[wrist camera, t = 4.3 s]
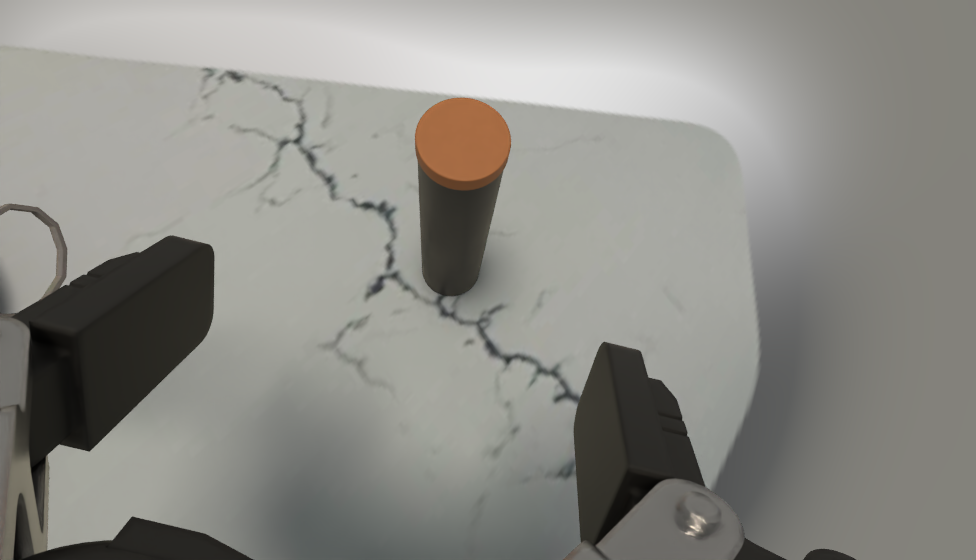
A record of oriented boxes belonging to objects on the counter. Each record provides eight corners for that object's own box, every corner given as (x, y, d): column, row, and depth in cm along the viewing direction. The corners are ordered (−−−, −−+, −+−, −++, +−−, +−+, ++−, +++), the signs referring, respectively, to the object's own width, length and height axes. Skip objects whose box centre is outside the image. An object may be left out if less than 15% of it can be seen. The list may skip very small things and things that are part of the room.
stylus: (489, 255, 27) (525, 119, 17) (466, 306, 26) (489, 196, 16) (436, 232, 27) (439, 83, 17) (411, 282, 26) (398, 157, 16)
